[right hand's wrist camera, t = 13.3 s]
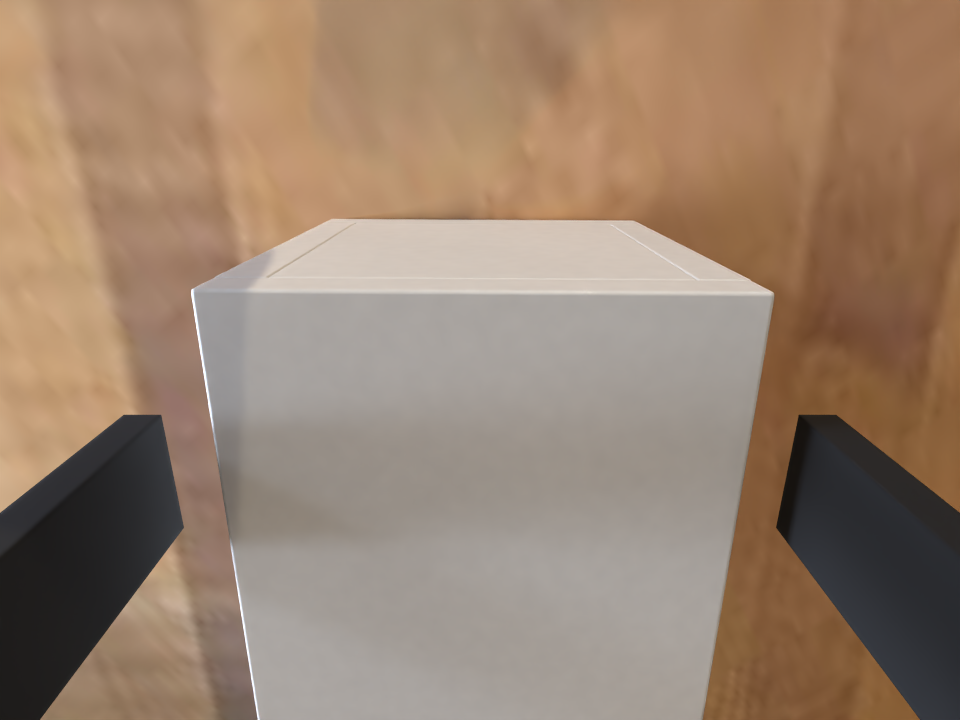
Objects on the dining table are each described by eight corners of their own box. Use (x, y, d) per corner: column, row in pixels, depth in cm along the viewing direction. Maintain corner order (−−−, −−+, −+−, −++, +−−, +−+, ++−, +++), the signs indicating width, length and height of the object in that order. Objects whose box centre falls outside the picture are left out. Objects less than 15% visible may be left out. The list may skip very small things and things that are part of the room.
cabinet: (592, 702, 28) (653, 1014, 18) (366, 700, 28) (302, 1011, 18) (634, 220, 21) (777, 291, 11) (330, 218, 21) (187, 288, 11)
